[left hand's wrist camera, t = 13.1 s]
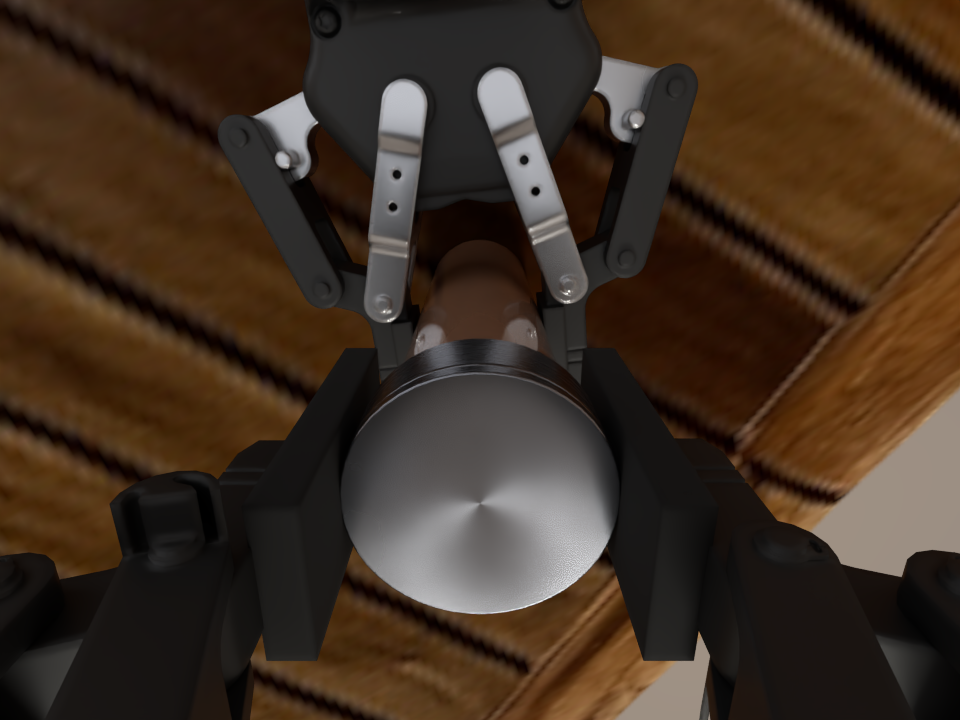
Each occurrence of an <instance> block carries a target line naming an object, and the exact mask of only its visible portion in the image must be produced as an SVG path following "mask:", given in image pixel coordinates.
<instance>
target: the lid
mask: <svg viewBox="0 0 960 720" xmlns="http://www.w3.org/2000/svg"><path fill="white" fill-rule="evenodd" d="M339 491H340V502H341V512H342V518H343V523H344V526H345V528H346V531H347V533H348V536H349V539H350V540H351V542H352V544H353V546H354V548H355V549H356V551H357V553H358V554H359V555H360V557H361V558H362V559H363V561H364V562H365V563H366V565H367V566H368V567H369V568H370V569H371V570H372V571H373V572H374V573H375V574H376V575H377V576H378V577H379V578H380V579H382V580H383V581H384V582H385V583H387V584H388V585H389V586H390V587H392V588H394V589H395V590H397V591H398V592H400V593H402V594H403V595H405V596H407V597H409V598H411V599H413V600H416V601H418V602H420V603H423V604H426V605H428V606H431V607H434V608H438V609H442V610H447V611H451V612H458V613H467V614H492V613H503V612H508V611H514V610H519V609H522V608H525V607H529V606H532V605H535V604H538V603H540V602H542V601H545V600H547V599H549V598H551V597H553V596H555V595H557V594H558V593H560V592H562V591H564V590H565V589H567V588H568V587H569V586H571V585H572V584H574V583H575V582H576V581H578V580H579V579H580V578H581V577H582V576H583V575H584V574H585V573H586V572H587V571H588V570H589V569H590V568H591V567H592V566H593V565H594V564H595V562H596V561H597V560H598V559H599V557H600V556H601V555H602V553H603V551H604V550H605V548H606V546H607V545H608V543H609V541H610V539H611V536H612V534H613V532H614V530H615V527H616V523H617V520H618V516H619V506H620V495H621V479H620V474H619V468H618V464H617V461H616V458H615V456H614V453H613V450H612V447H611V445H610V443H609V441H608V438H607V436H606V434H605V431H604V429H603V427H602V425H601V422H600V420H599V418H598V415H597V413H596V411H595V408H594V406H593V405H592V403H591V401H590V399H589V397H588V395H587V393H586V392H585V391H584V389H583V388H582V387H581V385H580V384H579V382H578V381H577V380H576V379H575V378H574V377H573V376H572V375H571V374H570V373H569V372H568V371H567V370H566V369H564V368H563V367H562V366H561V365H559V364H558V363H557V362H556V361H554V360H552V359H551V358H549V357H547V356H546V355H544V354H542V353H541V352H538V351H536V350H533V349H531V348H529V347H526V346H524V345H520V344H516V343H513V342H509V341H503V340H496V339H476V338H474V339H465V340H456V341H452V342H448V343H443V344H440V345H437V346H434V347H432V348H429V349H426V350H424V351H422V352H420V353H418V354H416V355H415V356H413V357H411V358H409V359H408V360H406V361H405V362H404V363H402V364H401V365H399V366H398V367H397V368H396V369H395V370H394V371H393V372H391V373H390V374H389V375H388V376H387V377H386V378H385V379H384V381H383V382H382V383H381V384H380V386H379V387H378V388H377V389H376V391H375V393H374V394H373V396H372V398H371V399H370V401H369V403H368V405H367V407H366V409H365V412H364V414H363V416H362V419H361V421H360V423H359V426H358V428H357V430H356V433H355V435H354V437H353V439H352V442H351V444H350V447H349V449H348V451H347V454H346V456H345V459H344V462H343V466H342V470H341V475H340V484H339Z"/></svg>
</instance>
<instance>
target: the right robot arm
mask: <svg viewBox="0 0 960 720" xmlns="http://www.w3.org/2000/svg"><path fill="white" fill-rule="evenodd" d="M305 6H306V11H307V16H308V21H309V27H310V36H311V45H310V54H309V59H308V63H307V66H306V69H305V72H304V76H303V92H301V93H299V94H297V95H295V96H293V97H291V98H289V99H287V100H285V101H283V102H282V103H280V104H278V105H276V106H274V107H272V108H270V109H268V110H266V111H264V112H262V113H260V114H258V115H256V116H245V115H231V116H228V117H226V118H225V119H224V120H223V121H222V122H221V124H220V126H219V129H218V140H219V143H220V145H221V147H222V149H223V151H224V153H225V155H226V156H227V158H228V160H229V162H230V164H231V165H232V167H233V169H234V171H235V173H236V174H237V176H238V178H239V180H240V182H241V183H242V185H243V187H244V189H245V191H246V192H247V194H248V196H249V198H250V200H251V201H252V203H253V205H254V207H255V209H256V210H257V212H258V214H259V216H260V218H261V219H262V221H263V223H264V225H265V226H266V228H267V230H268V232H269V234H270V235H271V237H272V239H273V241H274V243H275V244H276V246H277V248H278V250H279V252H280V253H281V255H282V257H283V259H284V261H285V262H286V264H287V266H288V268H289V270H290V271H291V273H292V275H293V277H294V279H295V280H296V282H297V284H298V286H299V288H300V289H301V291H302V293H303V295H304V297H305V298H306V300H307V301H308V302H309V303H310V304H311V305H313V306H315V307H317V308H321V309H326V308H330V307H333V306H334V307H338V308H342V309H347V310H351V311H354V312H357V313H359V314H361V315H362V316H363V317H364V318H365V319H366V320H367V321H368V322H369V324H370V326H371V329H372V333H373V339H374V344H375V348H378V364H379V373H380V378H381V383H382V382H383V381H384V379H385V378H386V377H387V376H388V375H389V374H390V373H391V372H393V371H394V370H395V369H396V368H397V367H398V366H399V365H401V364H402V363H403V362H404V359H405V356H406V354H407V351H408V348H409V345H410V342H411V339H412V337H413V334H414V331H415V328H416V325H417V322H418V319H419V317H420V310H419V305H412V302H411V295H410V292H411V286H412V279H413V272H414V265H415V258H416V250H417V244H418V239H419V234H420V229H421V223H422V216H423V211H426V210H435V209H441V208H443V207H445V206H448V205H450V204H453V203H455V202H458V201H460V200H463V199H469V200H476V201H482V202H488V203H498V202H507V201H514V203H515V206H516V208H517V211H518V214H519V216H520V219H521V221H522V224H523V226H524V229H525V231H526V234H527V237H528V239H529V242H530V245H531V247H532V250H533V253H534V255H535V258H536V260H537V263H538V266H539V268H540V271H541V281H542V292H537V293H536V297H537V309H538V311H539V314H540V317H541V320H542V323H543V326H544V328H545V331H546V334H547V337H548V340H549V343H550V345H551V348H552V351H553V354H554V357H555V359H556V362H557V363H558V364H559V365H561V366H562V367H563V368H564V369H566V370H567V371H568V372H569V373H570V374H571V375H572V376H573V377H574V378H575V379H576V380H577V381H578V382H579V384H580V385H581V370H582V354H583V348H587V338H586V318H585V305H586V301H587V298H588V296H589V295H590V293H591V292H592V291H593V290H594V289H595V288H597V287H598V286H600V285H602V284H604V283H606V282H608V281H611V280H613V279H615V278H617V277H621V278H629V277H632V276H635V275H636V274H638V273H639V272H640V271H641V270H642V269H643V267H644V265H645V263H646V260H647V256H648V253H649V250H650V246H651V243H652V240H653V236H654V233H655V230H656V226H657V223H658V220H659V216H660V213H661V210H662V206H663V203H664V200H665V196H666V193H667V190H668V186H669V183H670V180H671V177H672V173H673V170H674V167H675V163H676V160H677V157H678V153H679V150H680V147H681V143H682V140H683V137H684V133H685V130H686V127H687V123H688V120H689V117H690V113H691V110H692V107H693V103H694V100H695V97H696V93H697V89H698V81H697V77H696V74H695V73H694V71H693V70H692V69H691V68H690V67H688V66H687V65H684V64H672V65H669V66H665V67H662V68H653V67H649V66H644V65H640V64H636V63H631V62H627V61H623V60H618V59H614V58H610V57H605V56H602V52H601V48H600V44H599V42H598V40H597V38H596V36H595V34H594V33H593V31H592V29H591V28H590V26H589V24H588V21H587V19H586V16H585V13H584V10H583V6H582V1H581V0H305ZM592 94H593V95H595V96H596V97H597V98H599V100H600V101H601V102H602V104H603V107H604V111H605V117H604V128H605V131H606V133H607V135H608V136H609V137H610V138H611V139H612V140H614V141H616V142H619V145H618V149H617V153H616V157H615V160H614V164H613V168H612V172H611V175H610V179H609V183H608V187H607V190H606V194H605V198H604V202H603V205H602V209H601V213H600V217H599V220H598V224H597V228H596V232H595V235H594V236H593V237H591V238H589V239H587V240H585V241H583V242H581V243H579V244H577V245H576V244H575V241H574V238H573V235H572V233H571V230H570V226H569V221H568V217H567V214H566V211H565V208H564V205H563V202H562V199H561V196H560V194H559V191H558V188H557V185H556V182H555V179H554V176H553V174H552V171H551V168H550V165H551V163H552V162H553V160H554V158H555V156H556V155H557V153H558V151H559V150H560V148H561V146H562V144H563V143H564V141H565V139H566V138H567V136H568V134H569V132H570V131H571V129H572V127H573V126H574V124H575V122H576V120H577V119H578V117H579V115H580V114H581V112H582V110H583V108H584V107H585V105H586V103H587V102H588V100H589V98H590V96H591V95H592ZM321 127H323V128H324V130H325V131H326V132H327V133H328V134H329V135H330V136H331V137H332V138H333V139H334V140H335V141H336V143H337V144H338V145H339V146H340V147H341V148H342V149H343V150H344V151H345V152H346V153H347V154H348V155H349V157H350V158H351V159H352V160H353V161H354V162H355V163H356V164H357V165H358V166H359V167H360V168H361V169H362V171H363V172H364V173H365V174H366V175H367V176H368V177H369V178H370V179H371V180H372V181H373V182H374V189H373V198H372V207H371V216H370V225H369V236H368V242H369V259H368V266H365V265H360V264H356V263H353V262H352V260H351V258H350V256H349V254H348V252H347V250H346V248H345V246H344V244H343V242H342V240H341V238H340V236H339V234H338V233H337V231H336V229H335V227H334V225H333V223H332V221H331V219H330V217H329V215H328V213H327V211H326V209H325V207H324V205H323V203H322V202H321V200H320V198H319V196H318V194H317V192H316V190H315V188H314V186H313V184H312V182H311V180H310V178H309V177H310V176H312V175H313V174H314V173H315V171H316V170H317V167H318V163H319V158H318V154H317V151H316V148H315V137H316V134H317V132H318V130H319V129H320V128H321Z"/></svg>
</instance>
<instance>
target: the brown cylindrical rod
mask: <svg viewBox="0 0 960 720" xmlns="http://www.w3.org/2000/svg"><path fill="white" fill-rule="evenodd" d="M474 338H476V339H496V340H503V341H509V342H513V343H516V344H520V345H524V346H526V347H529V348H531V349H533V350H536V351H538V352H541V353H542V354H544V355H546V356H547V357H549V358H551V359H552V360H554V361H556V359H555V357H554V354H553V351H552V348H551V345H550V343H549V340H548V337H547V334H546V331H545V328H544V326H543V323H542V320H541V317H540V314H539V311H538V309H537V306H536V303H535V300H534V297H533V295H532V292H531V289H530V286H529V283H528V280H527V278H526V275H525V272H524V269H523V267H522V265H521V263H520V261H519V260H518V259H517V257H516V256H515V255H514V254H513V253H512V252H511V251H510V250H508V249H507V248H506V247H504V246H502V245H500V244H498V243H495V242H492V241H487V240H472V241H468V242H464V243H462V244H459V245H458V246H456V247H454V248H453V249H451V250H450V251H449V252H448V253H447V254H446V255H445V256H444V257H443V258H442V260H441V261H440V263H439V264H438V266H437V269H436V271H435V274H434V277H433V280H432V283H431V285H430V288H429V291H428V294H427V297H426V300H425V302H424V305H423V308H422V311H421V314H420V317H419V319H418V322H417V325H416V328H415V331H414V334H413V337H412V339H411V342H410V345H409V348H408V351H407V354H406V356H405V359H404V362H405V361H406V360H408V359H409V358H411V357H413V356H415V355H416V354H418V353H420V352H422V351H424V350H426V349H429V348H432V347H434V346H437V345H440V344H443V343H448V342H452V341H456V340H465V339H474ZM404 362H403V363H404Z"/></svg>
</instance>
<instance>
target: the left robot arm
mask: <svg viewBox="0 0 960 720" xmlns="http://www.w3.org/2000/svg"><path fill="white" fill-rule="evenodd" d="M379 386H380V380H379V364H378V348H346V349H345V350H344V352H343V353H342V355H341V357H340V358H339V360H338V361H337V363H336V364H335V366H334V367H333V369H332V370H331V372H330V373H329V375H328V376H327V378H326V379H325V381H324V382H323V384H322V385H321V387H320V388H319V390H318V391H317V393H316V394H315V396H314V397H313V399H312V400H311V402H310V403H309V405H308V406H307V408H306V409H305V411H304V412H303V414H302V415H301V417H300V418H299V420H298V421H297V423H296V425H295V426H294V428H293V429H292V431H291V432H290V434H289V435H288V437H287V438H286V440H259V441H257V442H256V443H254V444H253V445H251V446H250V447H248V448H246V449H245V450H243V451H242V452H240V453H238V454H237V456H236V457H235V458H234V459H233V461H232V462H231V463H230V465H229V466H228V467H227V468H226V472H223V473H222V475H221V476H220V477H219V479H218V480H217V479H216V478H215V477H214V476H212V475H211V474H208V473H204V472H199V471H176V472H171V473H166V474H161V475H156V476H154V477H151V478H148V479H146V480H143V481H140V482H138V483H136V484H134V485H132V486H130V487H129V488H127V489H125V490H124V491H122V492H120V493H119V494H118V495H117V497H116V498H115V499H114V500H113V501H112V502H111V503H110V508H111V512H112V515H113V519H114V523H115V527H116V531H117V535H118V539H119V543H120V547H121V551H122V555H123V558H122V560H121V562H120V564H119V566H118V567H116V568H113V569H109V570H105V571H100V572H95V573H90V574H85V575H80V576H75V577H70V578H66V579H61V580H59V577H58V573H57V570H56V567H55V563H54V562H53V561H52V560H51V559H50V558H48V557H47V556H46V555H42V554H35V553H21V554H13V555H5V556H1V557H0V720H250V714H251V706H252V698H253V689H254V679H253V671H252V666H251V660H250V658H251V656H252V654H253V652H254V649H255V647H256V645H257V643H258V640H259V638H260V636H261V634H262V636H263V642H264V648H265V654H266V660H267V661H317V659H318V655H319V652H320V649H321V646H322V643H323V640H324V637H325V633H326V630H327V627H328V624H329V621H330V618H331V614H332V611H333V608H334V605H335V602H336V599H337V595H338V592H339V589H340V586H341V583H342V580H343V577H344V573H345V570H346V567H347V564H348V561H349V558H350V554H351V551H352V548H353V544H352V542H351V540H350V539H349V536H348V533H347V531H346V528H345V526H344V523H343V518H342V512H341V502H340V491H339V484H340V475H341V470H342V466H343V462H344V459H345V456H346V454H347V451H348V449H349V447H350V444H351V442H352V439H353V437H354V435H355V433H356V430H357V428H358V426H359V423H360V421H361V419H362V416H363V414H364V412H365V409H366V407H367V405H368V403H369V401H370V399H371V398H372V396H373V394H374V393H375V391H376V389H377V388H378V387H379ZM581 387H582V388H583V389H584V391H585V392H586V393H587V395H588V397H589V399H590V401H591V403H592V405H593V406H594V408H595V411H596V413H597V415H598V418H599V420H600V422H601V425H602V427H603V429H604V431H605V434H606V436H607V438H608V441H609V443H610V445H611V447H612V450H613V453H614V456H615V458H616V461H617V464H618V468H619V474H620V479H621V495H620V506H619V516H618V520H617V523H616V527H615V530H614V532H613V534H612V536H611V539H610V541H609V543H608V545H607V547H608V550H609V553H610V556H611V560H612V563H613V566H614V569H615V572H616V575H617V579H618V582H619V585H620V588H621V591H622V594H623V597H624V601H625V604H626V607H627V610H628V613H629V616H630V620H631V623H632V626H633V629H634V632H635V635H636V639H637V642H638V645H639V648H640V651H641V654H642V657H643V661H694V656H695V650H696V644H697V638H698V632H700V634H701V637H702V639H703V641H704V643H705V645H706V648H707V650H708V652H709V654H710V660H709V666H708V671H707V677H706V683H705V688H704V694H703V700H702V705H701V712H700V719H699V720H708V716H709V712H710V720H960V554H959V553H955V552H945V551H937V550H929V551H922V552H916V553H915V554H913V555H912V556H911V557H910V558H908V559H907V562H906V565H905V568H904V572H903V575H902V577H898V576H893V575H888V574H883V573H878V572H873V571H868V570H864V569H859V568H854V567H850V566H846V565H843V564H841V563H840V561H839V559H838V557H837V555H836V554H835V553H834V552H833V550H832V549H831V548H830V546H829V545H828V544H827V543H826V542H824V541H823V540H821V539H820V538H818V537H817V536H816V535H814V534H813V533H811V532H809V531H806V530H804V529H802V528H800V527H797V526H795V525H793V524H788V523H784V522H780V521H777V520H776V518H775V517H774V516H773V515H772V513H771V512H770V511H769V510H768V508H767V507H766V506H765V505H764V503H763V502H762V501H761V500H760V498H759V497H758V496H757V494H756V493H755V492H754V491H753V489H752V488H751V487H750V486H749V484H748V483H745V479H744V478H743V477H742V476H741V474H740V473H739V472H738V470H735V467H734V465H733V464H732V463H731V462H730V460H729V459H728V458H727V457H726V455H725V454H724V453H723V452H722V451H721V450H719V449H717V448H716V447H714V446H713V445H711V444H709V443H708V442H706V441H705V440H703V439H674V438H673V436H672V434H671V433H670V431H669V430H668V428H667V427H666V425H665V424H664V422H663V421H662V419H661V418H660V416H659V415H658V413H657V412H656V410H655V409H654V407H653V406H652V404H651V403H650V401H649V400H648V398H647V397H646V395H645V394H644V392H643V391H642V389H641V388H640V386H639V385H638V383H637V382H636V380H635V379H634V377H633V376H632V374H631V373H630V371H629V370H628V368H627V367H626V365H625V363H624V362H623V360H622V359H621V357H620V356H619V354H618V353H617V351H616V350H615V348H583V354H582V370H581Z"/></svg>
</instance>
